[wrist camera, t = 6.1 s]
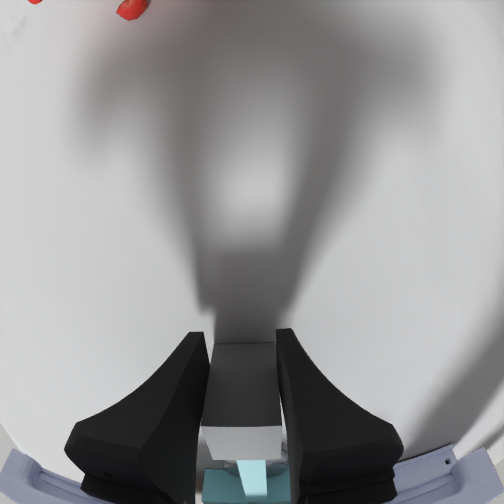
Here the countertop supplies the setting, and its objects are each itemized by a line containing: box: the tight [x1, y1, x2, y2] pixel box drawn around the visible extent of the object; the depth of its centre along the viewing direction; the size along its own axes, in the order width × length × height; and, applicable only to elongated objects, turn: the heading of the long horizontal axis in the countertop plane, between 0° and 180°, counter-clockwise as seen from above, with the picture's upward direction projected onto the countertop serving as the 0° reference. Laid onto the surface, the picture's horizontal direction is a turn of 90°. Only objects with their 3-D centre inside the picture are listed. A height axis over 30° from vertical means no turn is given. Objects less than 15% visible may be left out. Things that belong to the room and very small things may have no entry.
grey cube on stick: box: [201, 342, 291, 504], centre depth 15 cm, size 9×16×5 cm, turn 3°
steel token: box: [224, 448, 289, 478], centre depth 18 cm, size 5×5×1 cm
